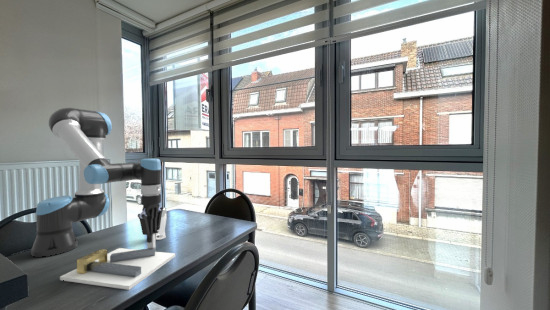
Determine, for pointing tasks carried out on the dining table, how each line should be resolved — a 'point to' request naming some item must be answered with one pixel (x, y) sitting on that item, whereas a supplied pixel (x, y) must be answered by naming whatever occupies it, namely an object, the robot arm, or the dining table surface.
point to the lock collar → (91, 260)
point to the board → (119, 281)
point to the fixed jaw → (114, 269)
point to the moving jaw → (132, 254)
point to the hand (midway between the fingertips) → (151, 248)
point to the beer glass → (162, 226)
